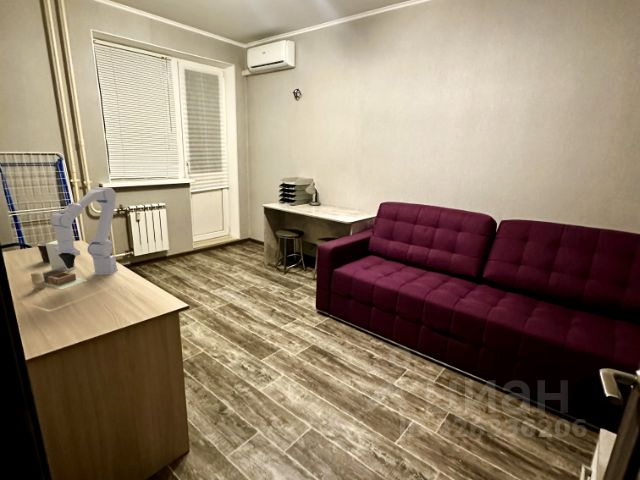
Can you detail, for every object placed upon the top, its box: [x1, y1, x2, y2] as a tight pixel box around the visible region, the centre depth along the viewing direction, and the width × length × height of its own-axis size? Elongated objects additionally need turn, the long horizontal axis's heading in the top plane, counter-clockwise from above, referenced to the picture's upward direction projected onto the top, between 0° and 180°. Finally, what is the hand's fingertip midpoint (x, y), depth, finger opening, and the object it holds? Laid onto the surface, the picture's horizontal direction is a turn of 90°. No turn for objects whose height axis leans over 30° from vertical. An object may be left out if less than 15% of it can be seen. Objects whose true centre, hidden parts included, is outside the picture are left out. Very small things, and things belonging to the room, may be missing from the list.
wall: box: [42, 266, 67, 283], centre depth 162 cm, size 2×10×5 cm, turn 158°
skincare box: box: [46, 239, 76, 272], centre depth 173 cm, size 8×7×16 cm
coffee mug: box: [36, 240, 54, 263], centre depth 186 cm, size 12×9×10 cm
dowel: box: [30, 271, 46, 291], centre depth 152 cm, size 4×4×8 cm
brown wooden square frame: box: [47, 271, 77, 286], centre depth 161 cm, size 8×8×3 cm
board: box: [45, 276, 88, 290], centre depth 161 cm, size 15×12×1 cm
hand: (70, 267), depth 156 cm, fingers closed
